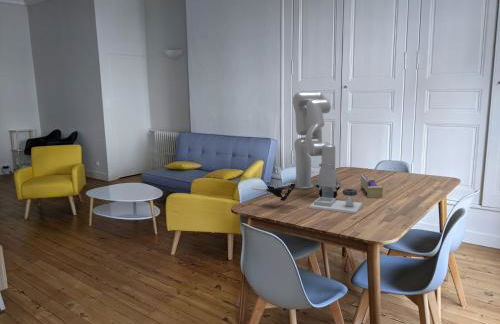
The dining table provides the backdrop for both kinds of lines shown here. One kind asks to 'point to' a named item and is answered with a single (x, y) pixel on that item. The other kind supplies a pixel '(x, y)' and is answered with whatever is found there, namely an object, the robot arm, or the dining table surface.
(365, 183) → the toy sofa
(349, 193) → the wheel
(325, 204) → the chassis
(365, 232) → the dining table surface
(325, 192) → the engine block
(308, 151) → the robot arm
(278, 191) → the rocket toy
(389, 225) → the dining table surface
